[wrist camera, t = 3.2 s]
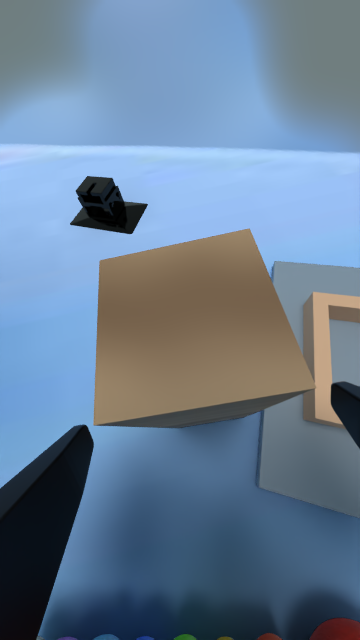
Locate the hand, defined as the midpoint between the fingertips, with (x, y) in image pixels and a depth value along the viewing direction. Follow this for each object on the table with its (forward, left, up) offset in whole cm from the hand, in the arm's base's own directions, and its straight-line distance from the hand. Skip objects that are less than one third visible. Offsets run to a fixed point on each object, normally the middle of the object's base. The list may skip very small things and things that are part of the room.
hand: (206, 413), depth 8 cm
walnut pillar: (+2, -2, -9) cm, 10 cm away
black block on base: (+25, -13, -10) cm, 30 cm away
